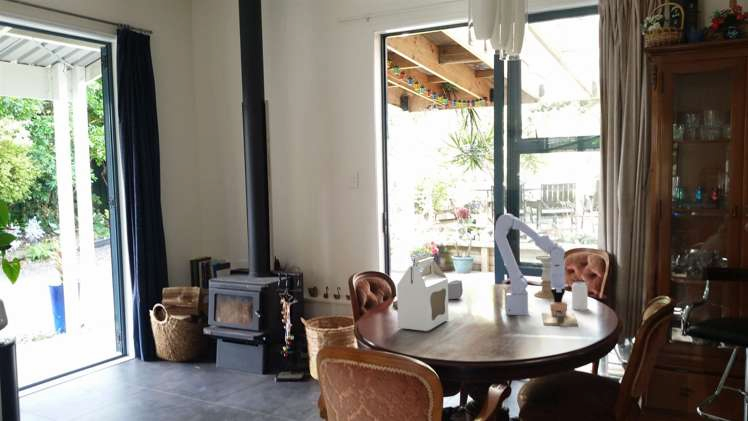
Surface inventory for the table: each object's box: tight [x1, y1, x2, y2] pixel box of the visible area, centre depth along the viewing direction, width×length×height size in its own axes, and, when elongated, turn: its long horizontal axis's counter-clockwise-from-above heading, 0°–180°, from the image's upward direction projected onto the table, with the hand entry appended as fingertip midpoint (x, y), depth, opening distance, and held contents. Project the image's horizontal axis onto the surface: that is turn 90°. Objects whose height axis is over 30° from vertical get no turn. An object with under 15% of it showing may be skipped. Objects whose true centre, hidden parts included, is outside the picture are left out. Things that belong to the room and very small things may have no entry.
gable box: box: [396, 253, 450, 332], centre depth 230 cm, size 22×13×28 cm, turn 151°
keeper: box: [549, 301, 568, 316], centre depth 234 cm, size 6×5×5 cm
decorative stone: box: [448, 279, 464, 300], centre depth 278 cm, size 15×7×10 cm
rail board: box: [541, 311, 579, 327], centre depth 229 cm, size 13×18×4 cm
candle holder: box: [533, 255, 554, 299], centre depth 277 cm, size 12×12×20 cm
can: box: [571, 281, 589, 311], centre depth 249 cm, size 6×6×12 cm
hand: (558, 306), depth 238 cm, fingers closed
